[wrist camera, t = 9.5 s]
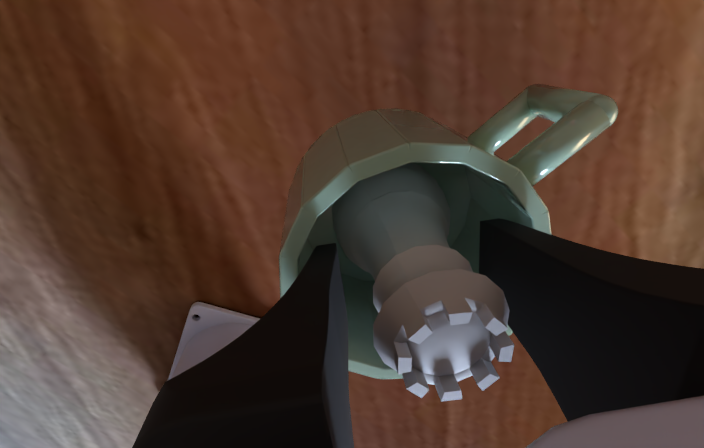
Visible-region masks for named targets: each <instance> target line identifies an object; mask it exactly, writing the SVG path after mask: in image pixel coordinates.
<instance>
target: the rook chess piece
mask: <svg viewBox="0 0 704 448" xmlns="http://www.w3.org/2000/svg"><path fill="white" fill-rule="evenodd" d="M332 213H333V227H334V230H335V232H336V235H337V240H338V242H339V244H340V245H341V247H342V249H343V251H344V253H345V254H346V256H347V257H348V258H349V260H351V261H352V262H353V263H355V264H356V265H357V266H359V267H360V268H361V269H363V270H364V271H366V272H369V273H370V274H371V275H372V276H373V278H374V280H375V283H374V285H373V304H374V306H375V308H376V309H377V311H378V315H377V318H376V320H375V322H374V324H373V341H374V347H375V349H376V351H377V352H378V354H379V356H380V357H381V359H382V361H383V362H384V364H386V365H388V366H389V367H391V368H392V369H394V370H396V371H397V373H398V375H399V374H402V375H403V379H404V382H405V386H406V389H407V390H409V391H411V392H412V393H414V394H416V395H417V396H419V397H421V398H422V397H423V396H424V395H425V394H426V393H427V391H428V390H429V388H428V385H427V383H428V384H433V385H435V386H436V389H437V392H438V395H439V397H440V400H441V401H449V400H458V399H462V394H461V389H460V387H459V385H458V383H457V382H458V381H460V380H463V379H465V378H467V377H470V376H472V375H473V377H474V379H475V381H476V383H477V385H478V386H479V387H480V388H481V389H482V390H484V389H486V388H487V387H488V386H490V385H491V384H492V383H494V382H495V381H496V380H498V379H499V378H500V377H499V376H498V374H497V372H496V370H495V369H494V367H493V365H492V363H491V361H492V359H493V358H494V356H496V358H497V360H498V361H503V362H511V359H512V354H513V348H514V343H513V342H512V341H511V339H510V338H509V336H508V335H507V333H506V330H507V329H508V327H507V323H508V317H509V311H510V310H509V307H508V304H507V301H506V298H505V295H504V292H503V290H502V289H500V288H499V287H498V286H497V285H496V284H495V283H493V282H492V281H491V280H490V279H489V278H488V277H487V276H485V275H481V274H477V273H474V272H473V271H472V268H471V266H470V263H469V261H468V260H467V259H465V258H464V257H463V256H462V255H461V254H460V253H459V252H457V251H456V250H454V249H451V248H450V247H449V245H448V242H447V236H448V234H449V226H450V208H449V206H448V203H447V200H446V198H445V195H444V192H443V190H442V189H441V188H440V187H439V185H438V183H437V180H436V179H434V178H433V177H432V176H431V175H430V174H429V173H428V172H427V171H426V170H425V169H424V168H423V167H422V166H419V165H416V164H414V163H411V162H410V163H407V164H404V165H401V166H399V167H396V168H393V169H391V170H388V171H385V172H382V173H380V174H377V175H374V176H371V177H369V178H366V179H363V180H361V181H358V182H357V183H356V184H354V185H353V186H352V187H351V188H350V189H349V190H348V191H347V192H345V193H344V194H343V195H342V196H341V197H340V198H339V199H337V200H336V201H335V202H334V205H333V208H332Z"/></svg>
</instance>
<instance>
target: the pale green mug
mask: <svg viewBox="0 0 704 448" xmlns="http://www.w3.org/2000/svg"><path fill="white" fill-rule="evenodd" d="M617 115H618V106H617V104H616V102H615V101H614V100H613V99H612V98H611V97H609V96H607V95H602V94H596V93H590V92H584V91H579V90H573V89H567V88H561V87H555V86H549V85H543V84H533V85H530V86H528V87H527V88H526V89H524V90H523V91H522V92H521V93H520V94H518V95H517V96H516V97H515V98H514V99H512V100H511V101H510V102H509V103H508V104H507V105H505V106H504V107H503V108H502V109H501V110H499V111H498V112H497V113H496V114H495V115H493V116H492V117H491V118H490V119H489V120H488V121H486V122H485V123H484V124H483V125H482V126H480V127H479V128H478V129H477V130H476V131H475V132H473V133H472V134H471V135H470V136H469V137H465V136H463V135H462V134H460V133H458V132H457V131H455V130H453V129H452V128H450V127H448V126H446V125H444V124H442V123H440V122H438V121H436V120H434V119H433V118H430V117H428V116H426V115H424V114H422V113H420V112H416V111H410V110H403V109H377V110H371V111H366V112H363V113H360V114H356V115H353V116H351V117H349V118H347V119H345V120H342V121H341V122H339V123H337V124H336V125H334V126H333V127H331V128H329V129H328V130H327V131H326V132H325V133H323V134H322V135H321V136H320V137H319V138H318V139H317V140H316V141H315V142H314V143H313V144H312V145H311V146H310V148H309V149H308V151H307V152H306V153H305V155H304V156H303V158H302V160H301V162H300V164H299V166H298V168H297V170H296V173H295V175H294V178H293V181H292V184H291V186H290V189H289V193H288V200H287V207H286V213H285V220H284V227H283V233H282V240H281V247H280V254H279V276H280V299H281V298H282V296H283V295H284V294H285V293H286V291H287V290H288V289H289V287H290V286H291V285H292V284H293V282H294V281H295V279H296V278H297V276H298V275H299V273H300V272H301V270H302V269H303V267H304V266H305V264H306V262H307V261H308V259H309V257H310V255H311V254H312V252H313V250H314V249H315V247H316V246H318V245H325V244H332V243H336V246H337V252H338V258H339V264H340V270H341V277H342V283H343V289H344V295H345V302H346V310H347V318H348V371H351V372H355V373H358V374H362V375H366V376H369V377H373V378H377V379H403V375H402V374H399V375H398V373H397V371H396V370H394V369H392V368H391V367H389V366H388V365H386V364H384V362H383V361H382V359H381V357H380V356H379V354H378V352H377V351H376V349H375V347H374V341H373V324H374V322H375V320H376V318H377V315H378V311H377V309H376V308H375V306H374V304H373V285H374V283H375V280H374V278H373V276H372V275H371V274H370V273H369V272H366V271H364V270H363V269H361V268H360V267H359V266H357V265H356V264H355V263H353V262H352V261H351V260H349V258H348V257H347V256H346V254H345V253H344V251H343V249H342V247H341V245H340V244H339V242H338V240H337V235H336V232H335V230H334V227H333V213H332V208H333V205H334V202H335V201H336V200H337V199H339V198H340V197H341V196H342V195H343V194H344V193H345V192H347V191H348V190H349V189H350V188H351V187H352V186H353V185H354V184H356V183H357V182H358V181H361V180H363V179H366V178H369V177H371V176H374V175H377V174H380V173H382V172H385V171H388V170H391V169H393V168H396V167H399V166H401V165H404V164H407V163H410V162H411V163H414V164H416V165H419V166H422V167H423V168H424V169H425V170H426V171H427V172H428V173H429V174H430V175H431V176H432V177H433V178H434V179H436V180H437V183H438V185H439V187H440V188H441V189H442V190H443V192H444V195H445V198H446V200H447V203H448V206H449V208H450V226H449V234H448V236H447V242H448V245H449V247H450V248H451V249H454V250H456V251H457V252H459V253H460V254H461V255H462V256H463V257H464V258H465V259H467V260H468V261H469V263H470V266H471V268H472V271H473V272H474V273H477V274H479V243H480V221H484V220H491V219H497V218H500V219H505V220H509V221H512V222H515V223H519V224H522V225H524V226H527V227H530V228H533V229H536V230H539V231H542V232H545V233H547V234H550V235H551V227H550V218H549V211H548V208H547V207H546V205H545V204H544V202H543V201H542V199H541V198H540V197H539V195H538V194H537V192H536V191H535V189H534V188H533V187H532V186H533V185H535V184H536V183H537V182H539V181H540V180H541V179H543V178H544V177H545V176H546V175H548V174H549V173H550V172H552V171H553V170H554V169H556V168H557V167H558V166H559V165H561V164H562V163H563V162H565V161H566V160H567V159H569V158H570V157H571V156H572V155H574V154H575V153H576V152H578V151H579V150H580V149H582V148H583V147H584V146H585V145H587V144H588V143H589V142H591V141H592V140H593V139H594V138H596V137H597V136H598V135H600V134H601V133H602V132H604V131H605V130H606V129H607V128H609V127H610V126H611V125H612V124H613V123H614V122H615V120H616V118H617ZM536 117H541V118H544V119H547V120H550V121H553V122H555V123H554V124H553V125H551V126H550V127H549V128H548V129H546V130H545V131H544V132H543V133H541V134H540V135H539V136H538V137H537V138H535V139H534V140H533V141H532V142H530V143H529V144H528V145H527V146H525V147H524V148H523V149H522V150H520V151H519V152H518V153H517V154H515V155H514V156H513V157H512V158H510V159H509V160H508V161H506V160H504V159H502V158H501V157H499V156H497V155H496V154H494V153H493V152H494V151H496V150H497V149H498V148H499V147H500V146H502V145H503V144H504V143H505V142H507V141H508V140H509V139H510V138H511V137H513V136H514V135H515V134H516V133H518V132H519V131H520V130H521V129H522V128H524V127H525V126H526V125H527V124H529V123H530V122H531V121H532V120H533V119H535V118H536ZM507 327H508V329H507V330H506V333H507V335H508V336H510V335H511V334H512V333H513V331H512V330H511V328H510V327H509V326H508V324H507Z"/></svg>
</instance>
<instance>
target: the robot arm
mask: <svg viewBox="0 0 704 448" xmlns="http://www.w3.org/2000/svg"><path fill="white" fill-rule="evenodd" d="M479 274H481V275H485V276H487V277H488V278H489V279H490V280H491V281H492V282H493V283H495V284H496V285H497V286H498V287H499V288H500V289H502V290H503V292H504V295H505V298H506V301H507V304H508V307H509V310H510V311H509V317H508V323H507V324H508V326H509V327H510V328H511V330H512V331H513V333H514V334H515V335H516V337H517V338H518V340H519V341H520V342H521V344H522V345H523V347H524V348H525V349H526V351H527V352H528V353H529V355H530V356H531V358H532V359H533V361H534V362H535V364H536V365H537V367H538V368H539V370H540V372H541V373H542V375H543V377H544V379H545V381H546V382H547V384H548V386H549V388H550V389H551V391H552V393H553V395H554V396H555V398H556V400H557V402H558V404H559V406H560V408H561V409H562V411H563V413H564V415H565V417H566V419H567V421H568V422H565V423H563V424H560V425H557V426H554V427H552V428H550V429H549V430H548V431H547V432H545V433H544V434H543V435H541V436H540V437H539V438H538V439H536V440H535V441H534V442H532V443H531V444H530V445H528V446H527V447H526V448H704V269H701V268H693V267H685V266H679V265H672V264H666V263H660V262H654V261H648V260H643V259H638V258H633V257H629V256H624V255H620V254H615V253H611V252H607V251H603V250H599V249H595V248H592V247H589V246H585V245H582V244H578V243H575V242H572V241H569V240H565V239H562V238H559V237H556V236H553V235H550V234H547V233H545V232H542V231H539V230H536V229H533V228H530V227H527V226H524V225H522V224H519V223H515V222H512V221H509V220H505V219H500V218H497V219H491V220H484V221H480V243H479ZM194 314H196V315H199V316H200V317H196V316H194ZM132 448H354V442H353V433H352V423H351V414H350V404H349V387H348V318H347V310H346V302H345V295H344V289H343V283H342V277H341V270H340V264H339V258H338V252H337V246H336V243H332V244H325V245H318V246H316V247H315V249H314V250H313V252H312V254H311V255H310V257H309V259H308V261H307V262H306V264H305V266H304V267H303V269H302V270H301V272H300V273H299V275H298V276H297V278H296V279H295V281H294V282H293V284H292V285H291V286H290V287H289V289H288V290H287V291H286V293H285V294H284V295H283V296H282V298H281V299H280V300H279V301H278V302H277V303H276V304H275V305H274V306H273V307H272V308H271V309H270V310H269V311H268V312H267V313H266V314H265V315H264V316H263V317H262V318H261V319H260V318H256V317H252V316H249V315H245V314H242V313H238V312H234V311H231V310H227V309H224V308H220V307H216V306H213V305H209V304H206V303H202V302H195V303H194V304H193V305H192V306H191V308H190V311H189V314H188V317H187V320H186V324H185V327H184V330H183V333H182V336H181V339H180V343H179V346H178V349H177V352H176V355H175V359H174V362H173V365H172V368H171V371H170V375H169V378H168V381H166V382H165V383H164V385H163V386H162V388H161V390H160V392H159V393H158V395H157V397H156V399H155V401H154V402H153V404H152V407H151V409H150V411H149V413H148V415H147V417H146V419H145V422H144V424H143V426H142V428H141V430H140V432H139V434H138V437H137V439H136V441H135V443H134V445H133V447H132Z"/></svg>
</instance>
